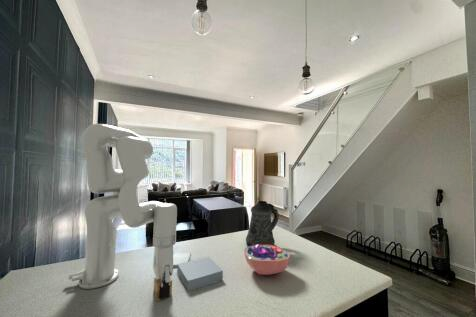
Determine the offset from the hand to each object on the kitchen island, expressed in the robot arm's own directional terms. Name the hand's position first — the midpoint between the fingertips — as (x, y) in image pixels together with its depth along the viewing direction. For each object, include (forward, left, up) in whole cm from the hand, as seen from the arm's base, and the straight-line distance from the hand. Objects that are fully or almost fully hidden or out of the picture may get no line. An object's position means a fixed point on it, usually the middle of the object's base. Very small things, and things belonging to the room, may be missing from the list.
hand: (162, 292), depth 67 cm
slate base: (+15, +4, -1) cm, 16 cm away
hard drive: (+12, +21, -1) cm, 24 cm away
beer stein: (+58, +17, -1) cm, 60 cm away
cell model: (+41, -7, -1) cm, 42 cm away
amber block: (0, 0, -1) cm, 1 cm away
